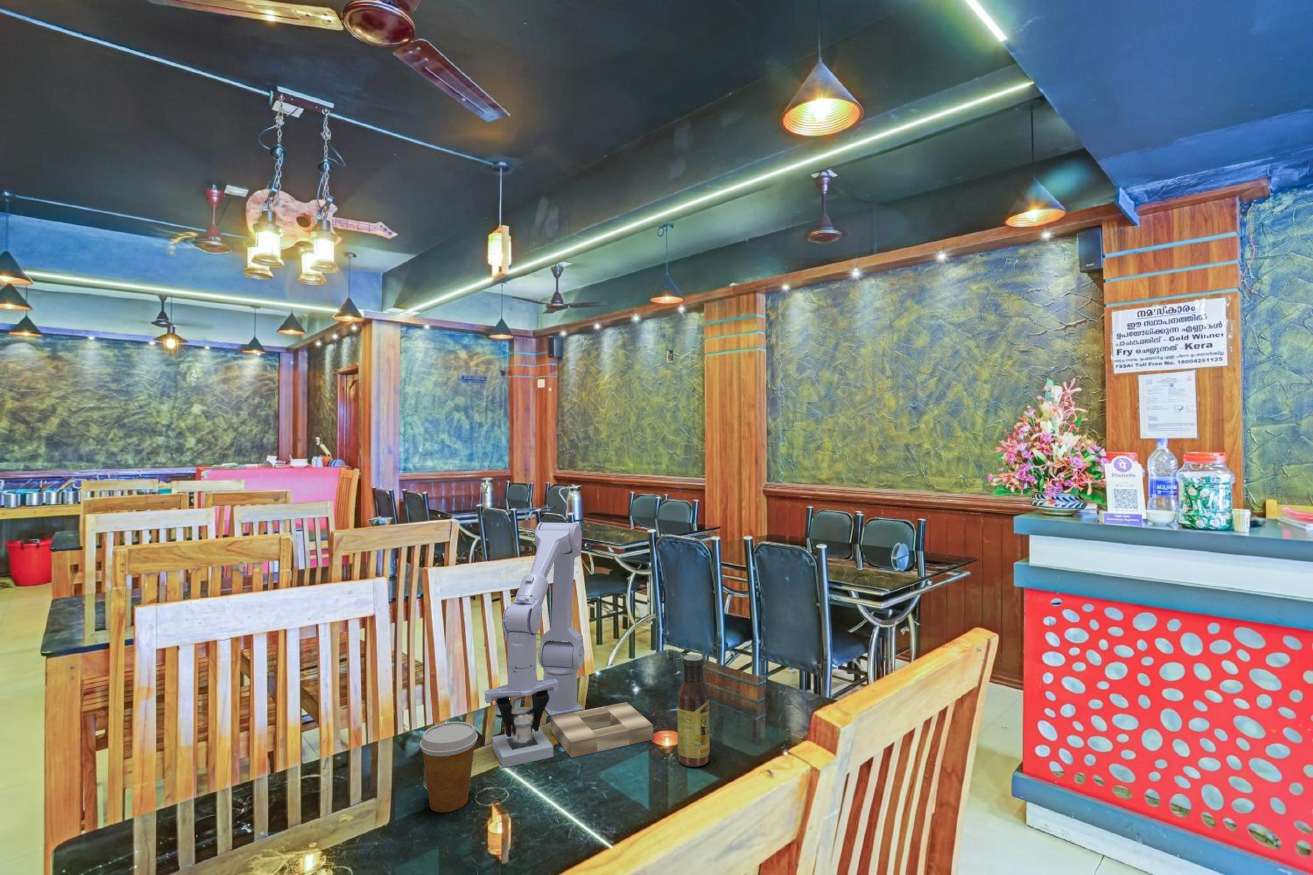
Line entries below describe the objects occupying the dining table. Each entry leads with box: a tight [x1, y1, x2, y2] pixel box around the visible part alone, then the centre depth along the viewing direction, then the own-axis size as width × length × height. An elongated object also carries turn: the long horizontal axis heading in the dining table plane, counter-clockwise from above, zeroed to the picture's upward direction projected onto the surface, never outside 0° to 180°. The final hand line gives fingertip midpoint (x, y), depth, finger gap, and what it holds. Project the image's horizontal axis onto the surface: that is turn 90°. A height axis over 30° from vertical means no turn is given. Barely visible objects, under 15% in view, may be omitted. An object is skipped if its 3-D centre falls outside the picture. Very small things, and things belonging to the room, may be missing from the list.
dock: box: [550, 701, 654, 758], centre depth 135 cm, size 14×18×3 cm
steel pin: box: [511, 706, 535, 750], centre depth 128 cm, size 5×5×8 cm
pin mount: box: [491, 727, 554, 769], centre depth 128 cm, size 10×10×2 cm
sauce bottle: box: [676, 654, 711, 768], centre depth 124 cm, size 7×6×20 cm
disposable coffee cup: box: [419, 721, 479, 813], centre depth 109 cm, size 10×10×12 cm
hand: (522, 731), depth 128 cm, fingers closed on steel pin, 5 cm apart
